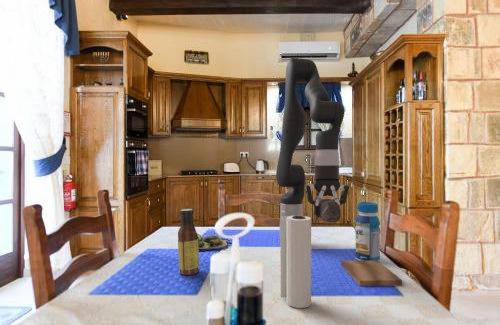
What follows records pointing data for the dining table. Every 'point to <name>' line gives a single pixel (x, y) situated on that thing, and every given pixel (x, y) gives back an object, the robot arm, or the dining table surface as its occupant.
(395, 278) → the walnut board
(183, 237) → the sauce bottle
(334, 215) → the perforated stone tool
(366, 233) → the beverage bottle
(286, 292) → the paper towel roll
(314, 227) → the dining table surface
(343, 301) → the dining table surface
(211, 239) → the salad plate
